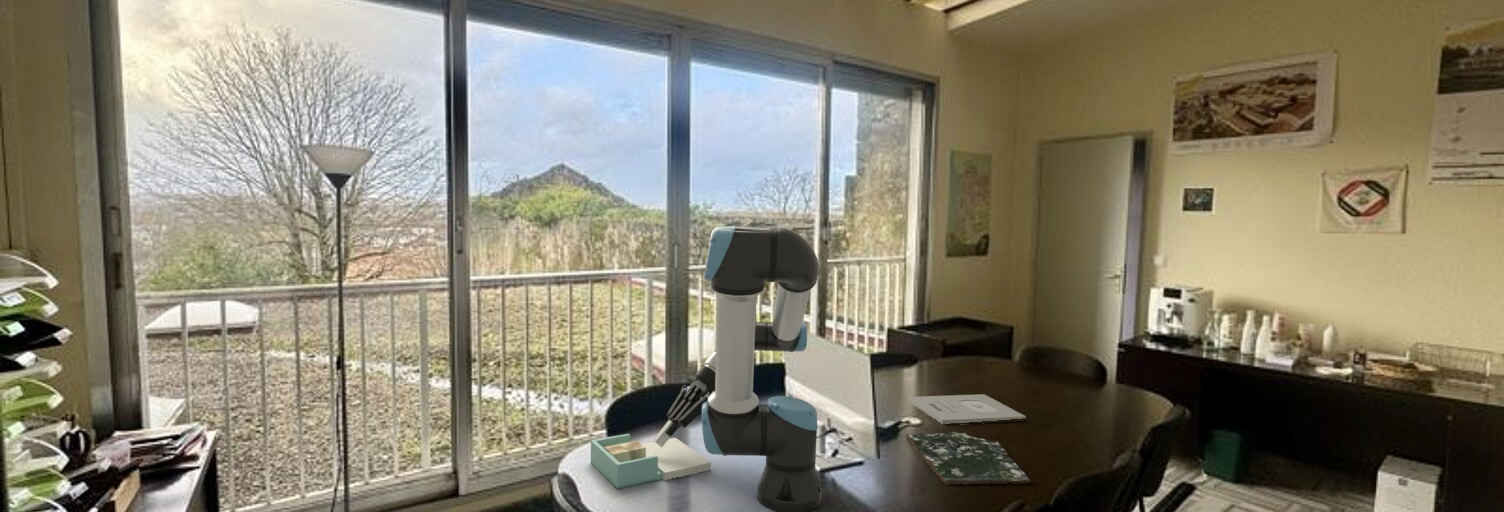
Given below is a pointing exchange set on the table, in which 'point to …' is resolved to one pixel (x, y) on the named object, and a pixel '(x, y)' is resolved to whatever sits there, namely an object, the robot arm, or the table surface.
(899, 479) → the table surface
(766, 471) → the robot arm
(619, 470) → the box
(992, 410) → the award plaque
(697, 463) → the cream board
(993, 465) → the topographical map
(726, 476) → the table surface
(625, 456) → the maple block
